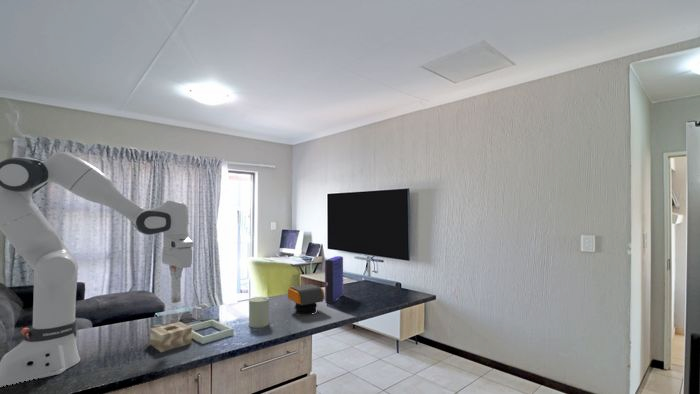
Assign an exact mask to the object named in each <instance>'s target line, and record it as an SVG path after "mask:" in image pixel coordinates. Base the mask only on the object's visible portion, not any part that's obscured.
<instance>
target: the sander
mask: <svg viewBox="0 0 700 394" xmlns="http://www.w3.org/2000/svg"><path fill="white" fill-rule="evenodd" d="M287 299H288V300H290V301H292V302H294V303H295V305H294V308H295V310H294V314H295V315H296V314H299V315H298V316H310V315H309V314H312V313H315V312H316V309H317V307H318V305H317V303H323V302H324V300H325V290H324V289H323V288H322V287H320V286H318V285H315V284H313V283H308V284H303V285H301V284H300V285H296V286H294V285H292V286H290V287H289V288H288V290H287ZM315 314H316V313H315Z"/></svg>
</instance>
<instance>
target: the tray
mask: <svg viewBox="0 0 700 394" xmlns="http://www.w3.org/2000/svg"><path fill="white" fill-rule="evenodd" d="M188 326H190V327H191V328H192V339H193V340H195V341H196V342H198V343H200V344H202V345H203V344H207V343H210V342H213V341H217V340H220V339H224V338H226V337H227V338H228V337H230V336H231V337H234V327H231V326H229V325H227V324H224V323H222V322H219V321H215V320H209V321H205V322H201V321H200V322H198V323H194V324H190V325H188ZM210 327H211V328H214V329H216V330H219V331H217V332H213V333H211V334H207V335H202V334H200V333H198V332H197V331H199V330H203V329H206V328H210Z"/></svg>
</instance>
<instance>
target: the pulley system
mask: <svg viewBox="0 0 700 394" xmlns="http://www.w3.org/2000/svg"><path fill="white" fill-rule="evenodd" d="M170 317H171V318H170V323H164V324H154V325H153V328H156V327H160V326H164V325H168V324H172V323H176V322H182V323H184V324H187V323H189V324H190V323H191V324H192V323H194V322H198V321H199V322H200V323H201V322H205V321H209V320H215V321H217V322H219V320H220V318H219V317H214V318H207V319H205V315H203V314H201V315H197V318H194V315H193V312H191V311H189V312H188V311H187V312H182V313H181V316H180V317H179V313H172V314H171V315H170Z"/></svg>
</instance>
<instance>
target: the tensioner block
mask: <svg viewBox="0 0 700 394" xmlns="http://www.w3.org/2000/svg"><path fill="white" fill-rule="evenodd" d="M182 322H183V321H180V322H178V321H177V322H176V323H172V324H170V323H167V324H168V325H164V326H160V327H156V328H154V327H152V328H150V334H149V335H150V339H149V340H150V342H149V343H150V346H151V347H153V348H154V349H156V350H157V351H158V352H160V353H164V352H167V351H170V350H174V349H177V348H181V347H184V346H186V345H190V344H192V341H193V340H192V339H193V338H192V328H191V327H190V326H189V325H187V323H182Z"/></svg>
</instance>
